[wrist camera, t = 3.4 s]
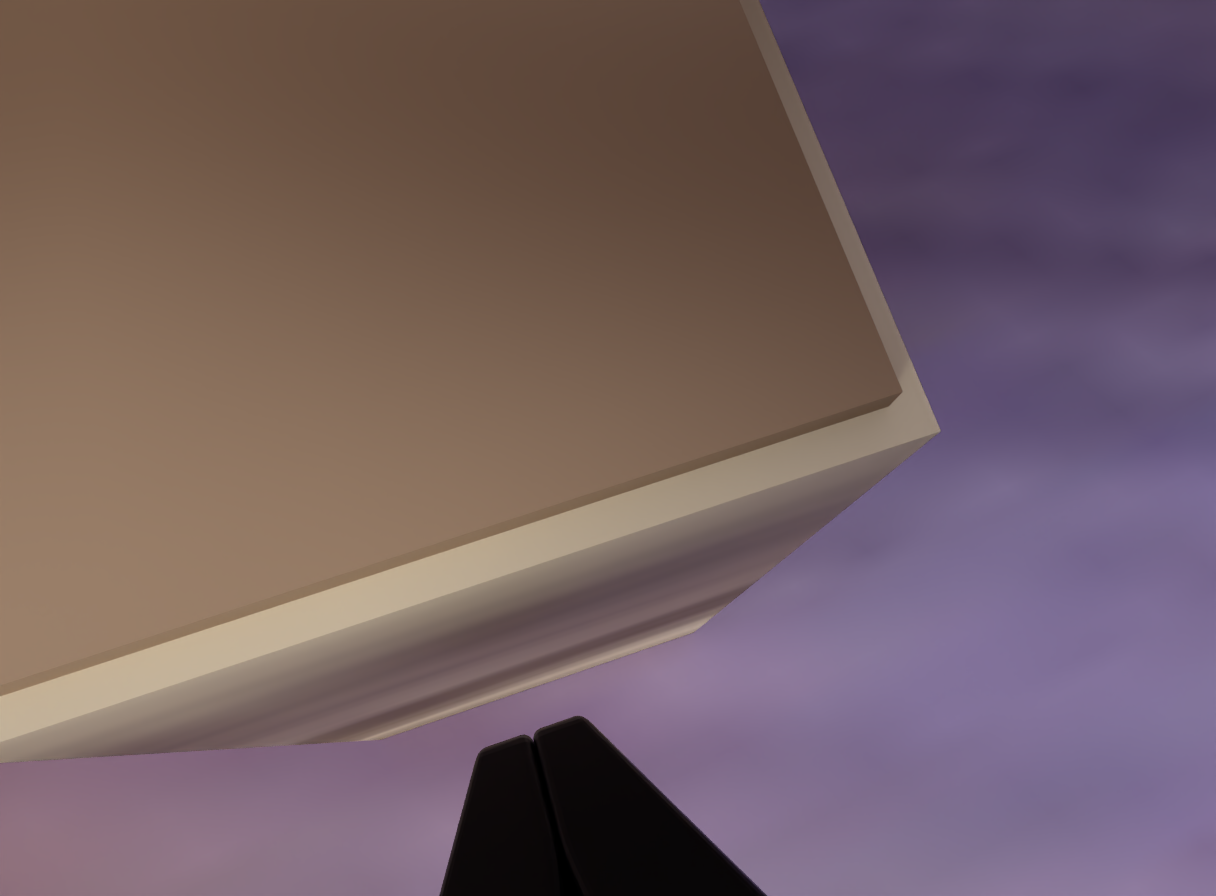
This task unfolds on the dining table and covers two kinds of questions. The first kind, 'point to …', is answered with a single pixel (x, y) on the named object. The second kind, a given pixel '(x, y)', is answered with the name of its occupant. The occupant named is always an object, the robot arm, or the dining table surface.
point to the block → (405, 355)
